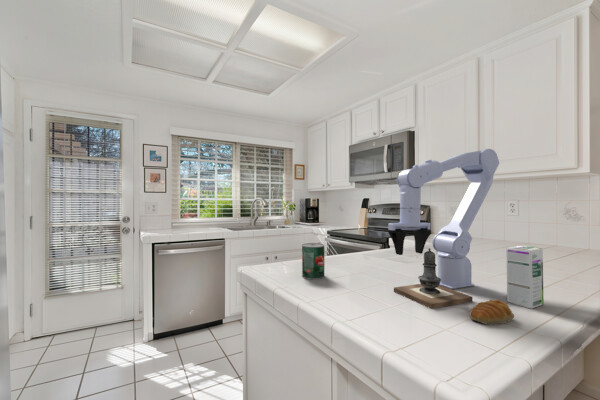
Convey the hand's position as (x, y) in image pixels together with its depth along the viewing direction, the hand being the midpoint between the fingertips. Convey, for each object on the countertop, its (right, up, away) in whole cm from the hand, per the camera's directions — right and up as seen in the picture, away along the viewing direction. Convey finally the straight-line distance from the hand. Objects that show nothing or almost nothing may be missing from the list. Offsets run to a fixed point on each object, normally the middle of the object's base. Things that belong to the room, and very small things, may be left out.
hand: (409, 253), depth 87 cm
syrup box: (+25, -11, -13) cm, 30 cm away
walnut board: (+3, -11, -7) cm, 13 cm away
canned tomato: (-28, -11, +14) cm, 33 cm away
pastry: (+10, -11, -22) cm, 27 cm away
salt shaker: (+3, -9, -7) cm, 12 cm away
